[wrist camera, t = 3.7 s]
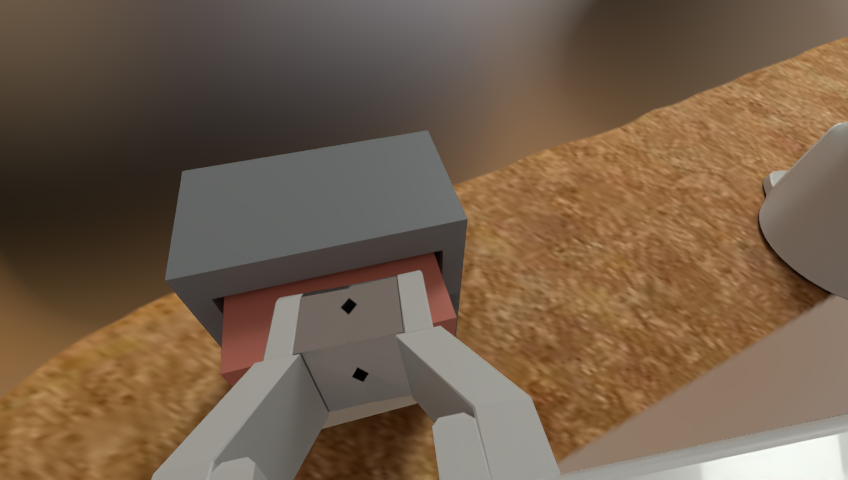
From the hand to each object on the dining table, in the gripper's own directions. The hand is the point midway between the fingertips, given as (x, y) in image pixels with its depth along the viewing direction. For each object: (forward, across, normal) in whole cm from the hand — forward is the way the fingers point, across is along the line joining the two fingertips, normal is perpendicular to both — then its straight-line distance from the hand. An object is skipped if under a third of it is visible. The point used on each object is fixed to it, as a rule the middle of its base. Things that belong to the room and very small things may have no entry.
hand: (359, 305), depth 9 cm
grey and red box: (+16, +4, +19) cm, 25 cm away
